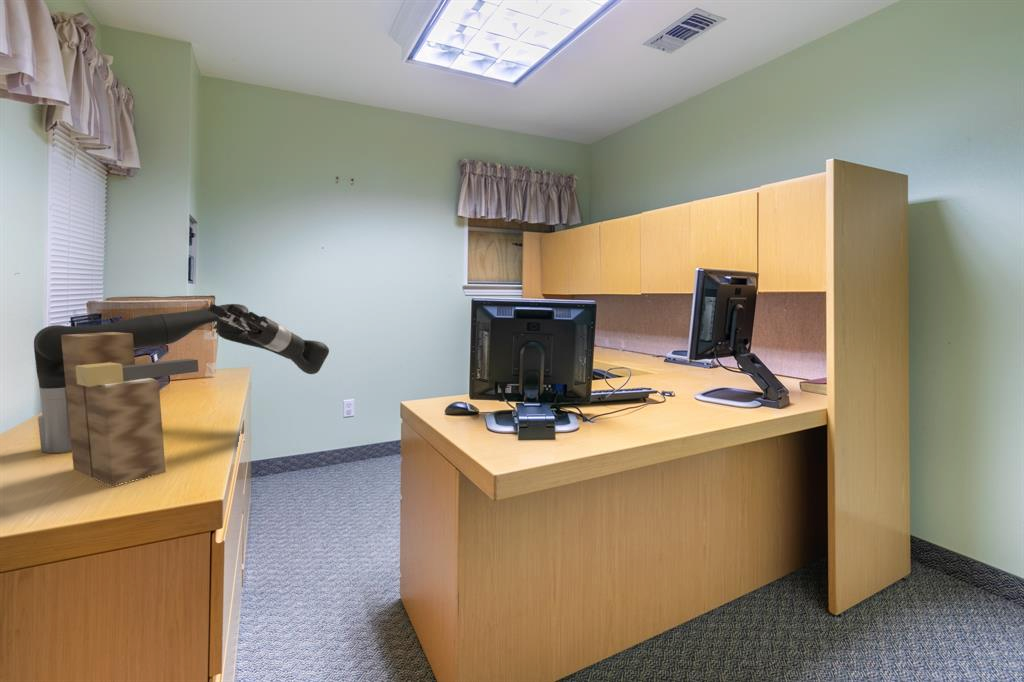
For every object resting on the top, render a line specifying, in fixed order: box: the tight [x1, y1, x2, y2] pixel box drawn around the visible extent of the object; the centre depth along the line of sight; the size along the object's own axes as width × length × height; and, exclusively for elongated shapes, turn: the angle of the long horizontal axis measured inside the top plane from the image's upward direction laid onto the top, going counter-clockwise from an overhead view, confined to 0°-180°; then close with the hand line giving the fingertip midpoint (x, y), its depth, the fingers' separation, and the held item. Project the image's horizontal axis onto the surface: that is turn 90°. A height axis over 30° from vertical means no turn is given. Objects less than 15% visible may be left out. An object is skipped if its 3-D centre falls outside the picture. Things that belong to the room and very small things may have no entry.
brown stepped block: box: [61, 332, 166, 487], centre depth 111 cm, size 10×21×32 cm, turn 60°
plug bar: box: [76, 358, 200, 387], centre depth 111 cm, size 22×6×4 cm, turn 150°
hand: (218, 307), depth 126 cm, fingers open, 8 cm apart
